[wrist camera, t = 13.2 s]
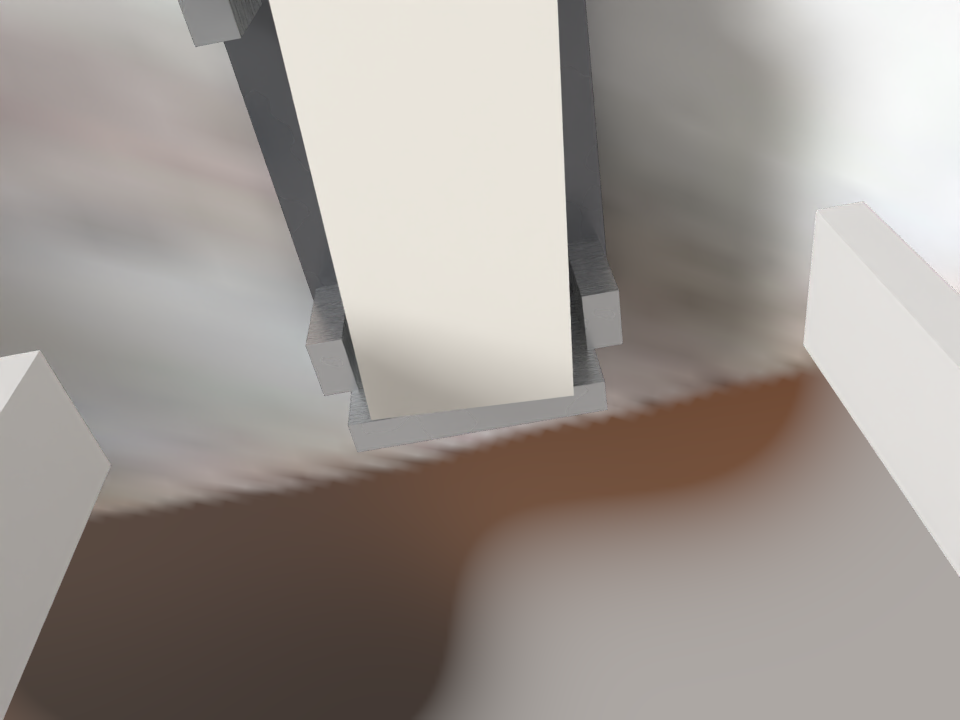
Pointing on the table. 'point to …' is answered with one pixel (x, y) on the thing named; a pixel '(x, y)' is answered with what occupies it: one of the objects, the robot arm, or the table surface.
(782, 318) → the table surface
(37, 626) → the robot arm
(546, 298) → the cream rectangular block
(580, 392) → the mount
